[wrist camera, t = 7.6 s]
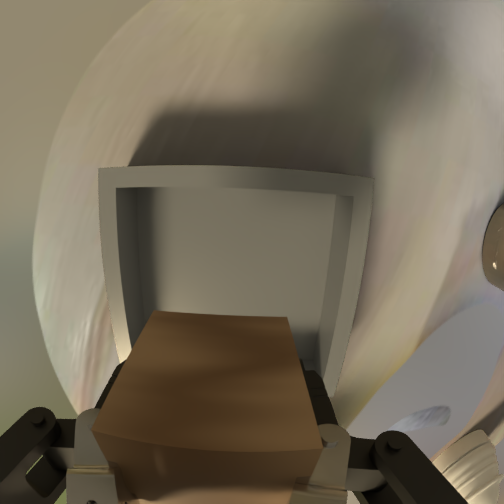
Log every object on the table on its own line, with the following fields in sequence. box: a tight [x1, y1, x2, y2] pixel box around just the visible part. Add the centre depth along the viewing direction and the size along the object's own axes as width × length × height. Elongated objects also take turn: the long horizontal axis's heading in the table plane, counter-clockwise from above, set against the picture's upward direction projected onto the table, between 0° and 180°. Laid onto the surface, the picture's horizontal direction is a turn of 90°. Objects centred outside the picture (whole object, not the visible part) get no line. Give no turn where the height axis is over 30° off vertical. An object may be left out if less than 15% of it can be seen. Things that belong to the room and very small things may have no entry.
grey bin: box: [98, 165, 374, 397], centre depth 20 cm, size 16×16×4 cm
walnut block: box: [91, 310, 323, 504], centre depth 8 cm, size 5×5×6 cm
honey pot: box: [433, 429, 504, 504], centre depth 24 cm, size 13×13×18 cm
